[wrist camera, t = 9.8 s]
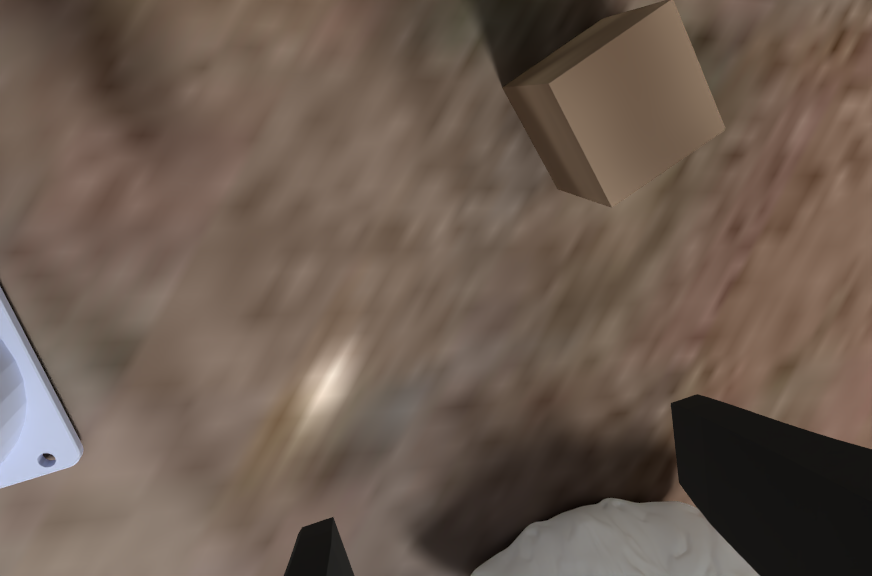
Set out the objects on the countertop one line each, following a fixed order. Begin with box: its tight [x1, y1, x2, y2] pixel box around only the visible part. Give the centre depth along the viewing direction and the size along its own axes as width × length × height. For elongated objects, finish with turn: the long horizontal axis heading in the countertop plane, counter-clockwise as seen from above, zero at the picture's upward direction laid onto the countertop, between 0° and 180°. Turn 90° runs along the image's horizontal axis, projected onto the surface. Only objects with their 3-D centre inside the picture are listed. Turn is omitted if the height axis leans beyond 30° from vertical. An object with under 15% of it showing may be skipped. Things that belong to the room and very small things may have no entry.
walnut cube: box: [502, 0, 726, 207], centre depth 18 cm, size 4×4×4 cm
